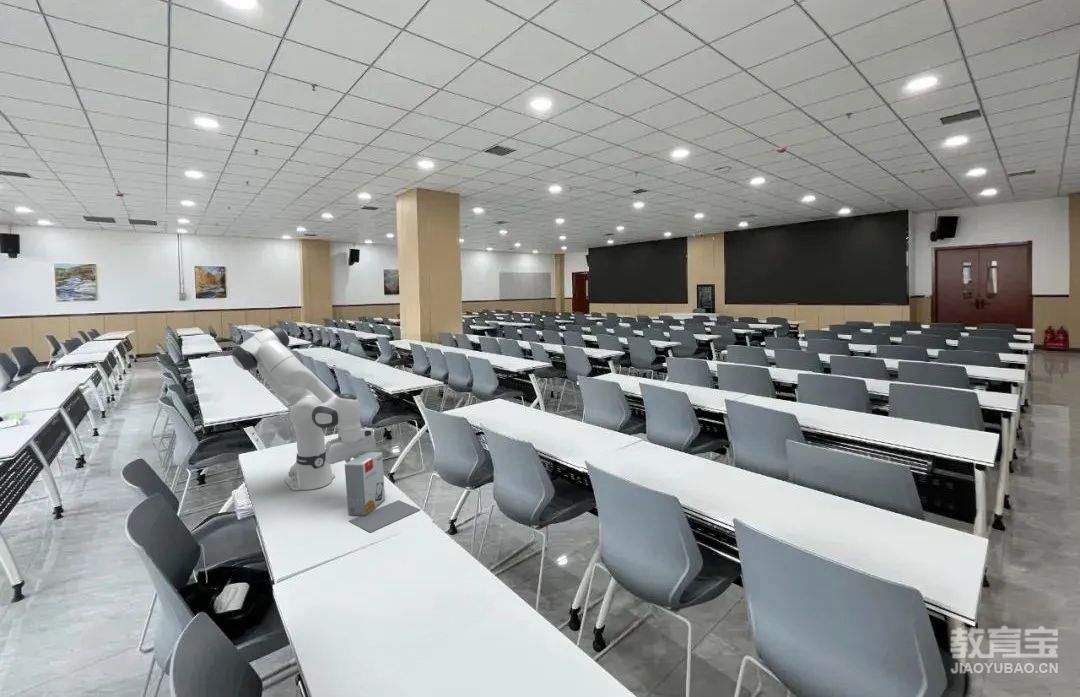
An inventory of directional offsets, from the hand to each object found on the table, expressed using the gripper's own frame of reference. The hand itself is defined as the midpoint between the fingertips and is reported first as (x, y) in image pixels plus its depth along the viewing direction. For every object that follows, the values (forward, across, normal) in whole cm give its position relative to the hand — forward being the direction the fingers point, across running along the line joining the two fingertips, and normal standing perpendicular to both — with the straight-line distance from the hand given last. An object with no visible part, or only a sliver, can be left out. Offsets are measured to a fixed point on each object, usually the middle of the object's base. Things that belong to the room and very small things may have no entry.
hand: (352, 467), depth 203 cm
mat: (+14, 0, -21) cm, 25 cm away
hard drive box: (+14, 0, -9) cm, 17 cm away
